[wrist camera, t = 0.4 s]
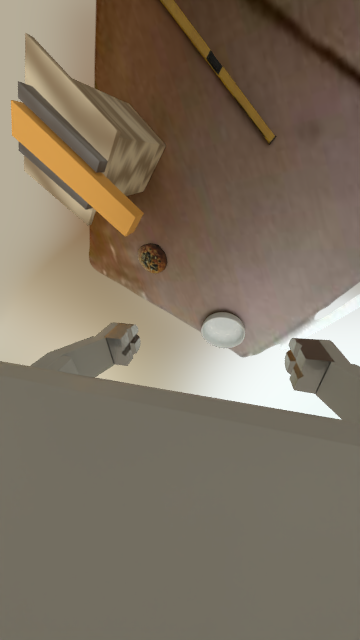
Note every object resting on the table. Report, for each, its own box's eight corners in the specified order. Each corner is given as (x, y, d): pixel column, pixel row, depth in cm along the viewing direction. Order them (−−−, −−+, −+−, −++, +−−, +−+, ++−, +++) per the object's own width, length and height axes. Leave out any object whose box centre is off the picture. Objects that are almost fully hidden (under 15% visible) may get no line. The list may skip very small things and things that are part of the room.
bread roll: (169, 247, 60) (163, 255, 57) (167, 274, 69) (161, 281, 66) (140, 237, 61) (132, 244, 58) (141, 264, 70) (134, 271, 67)
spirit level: (145, -17, 31) (137, -30, 28) (149, -31, 30) (141, -46, 28) (269, 144, 38) (270, 144, 36) (275, 137, 37) (276, 136, 35)
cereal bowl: (223, 341, 81) (221, 353, 76) (196, 320, 77) (192, 331, 72) (254, 325, 70) (255, 337, 65) (225, 298, 66) (222, 309, 61)
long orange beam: (31, 105, 25) (11, 99, 23) (143, 213, 30) (135, 217, 28) (30, 137, 28) (12, 135, 26) (133, 231, 33) (125, 236, 30)
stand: (133, 92, 39) (8, 23, 19) (176, 143, 42) (108, 128, 23) (109, 166, 50) (13, 171, 30) (145, 203, 53) (80, 228, 33)
